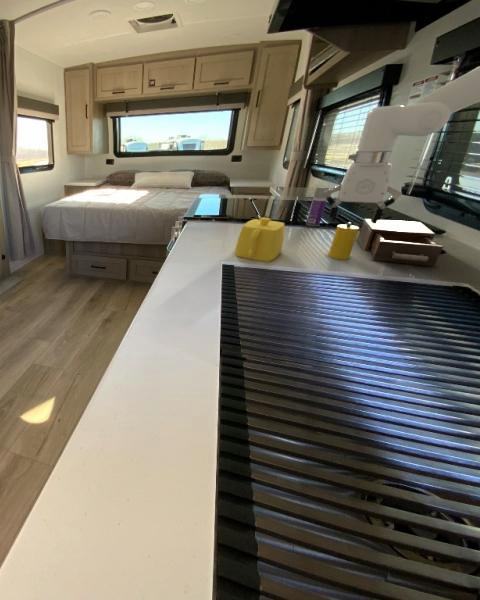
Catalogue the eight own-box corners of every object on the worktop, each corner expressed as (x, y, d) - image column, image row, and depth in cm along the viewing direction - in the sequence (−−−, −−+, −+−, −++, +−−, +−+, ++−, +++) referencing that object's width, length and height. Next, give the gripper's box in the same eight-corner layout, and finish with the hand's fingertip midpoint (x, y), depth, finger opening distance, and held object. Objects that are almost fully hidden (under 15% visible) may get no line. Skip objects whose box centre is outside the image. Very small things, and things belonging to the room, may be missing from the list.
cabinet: (424, 258, 100) (435, 233, 97) (363, 252, 107) (372, 229, 103) (410, 244, 111) (420, 222, 108) (356, 239, 118) (364, 218, 115)
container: (321, 226, 135) (333, 187, 128) (310, 226, 135) (320, 188, 129) (314, 223, 139) (325, 186, 133) (303, 223, 140) (313, 186, 133)
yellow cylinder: (346, 256, 104) (359, 221, 99) (349, 262, 100) (362, 225, 95) (327, 254, 106) (338, 219, 101) (328, 259, 102) (339, 223, 97)
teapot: (248, 242, 120) (255, 209, 115) (286, 248, 113) (295, 213, 107) (228, 257, 107) (234, 221, 102) (270, 265, 100) (279, 227, 94)
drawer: (438, 271, 89) (449, 251, 86) (375, 264, 95) (383, 245, 93) (419, 251, 103) (427, 233, 100) (365, 246, 109) (371, 229, 106)
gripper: (334, 160, 91) (318, 222, 99) (418, 158, 83) (393, 226, 91) (331, 158, 97) (316, 216, 104) (410, 156, 89) (387, 220, 96)
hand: (352, 221), depth 97 cm, fingers open, 9 cm apart
